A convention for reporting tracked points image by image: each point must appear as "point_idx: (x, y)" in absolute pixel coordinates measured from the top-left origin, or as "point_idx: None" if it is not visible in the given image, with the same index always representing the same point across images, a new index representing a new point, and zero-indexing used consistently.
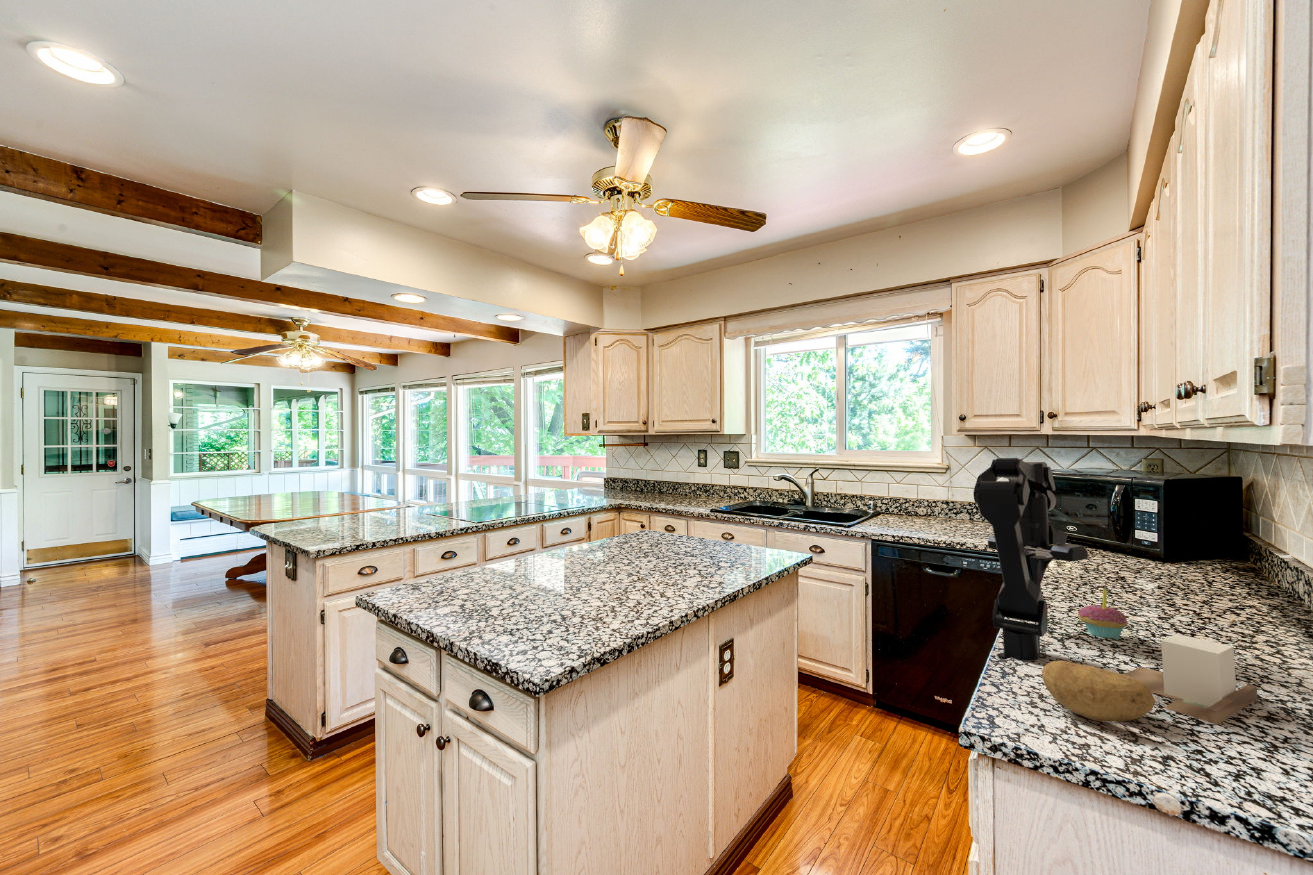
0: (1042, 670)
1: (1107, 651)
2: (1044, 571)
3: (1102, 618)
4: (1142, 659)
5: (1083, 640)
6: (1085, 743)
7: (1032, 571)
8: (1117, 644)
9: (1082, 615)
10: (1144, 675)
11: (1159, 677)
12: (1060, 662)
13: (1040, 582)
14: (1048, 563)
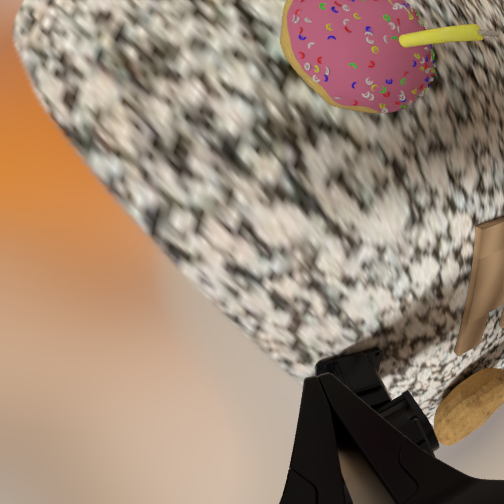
0: (438, 440)
1: (407, 165)
2: (402, 441)
3: (413, 97)
4: (456, 149)
5: (330, 133)
6: None
7: (353, 490)
8: None
9: (346, 101)
10: (490, 264)
11: (501, 249)
12: (459, 440)
13: (342, 386)
14: (464, 481)
